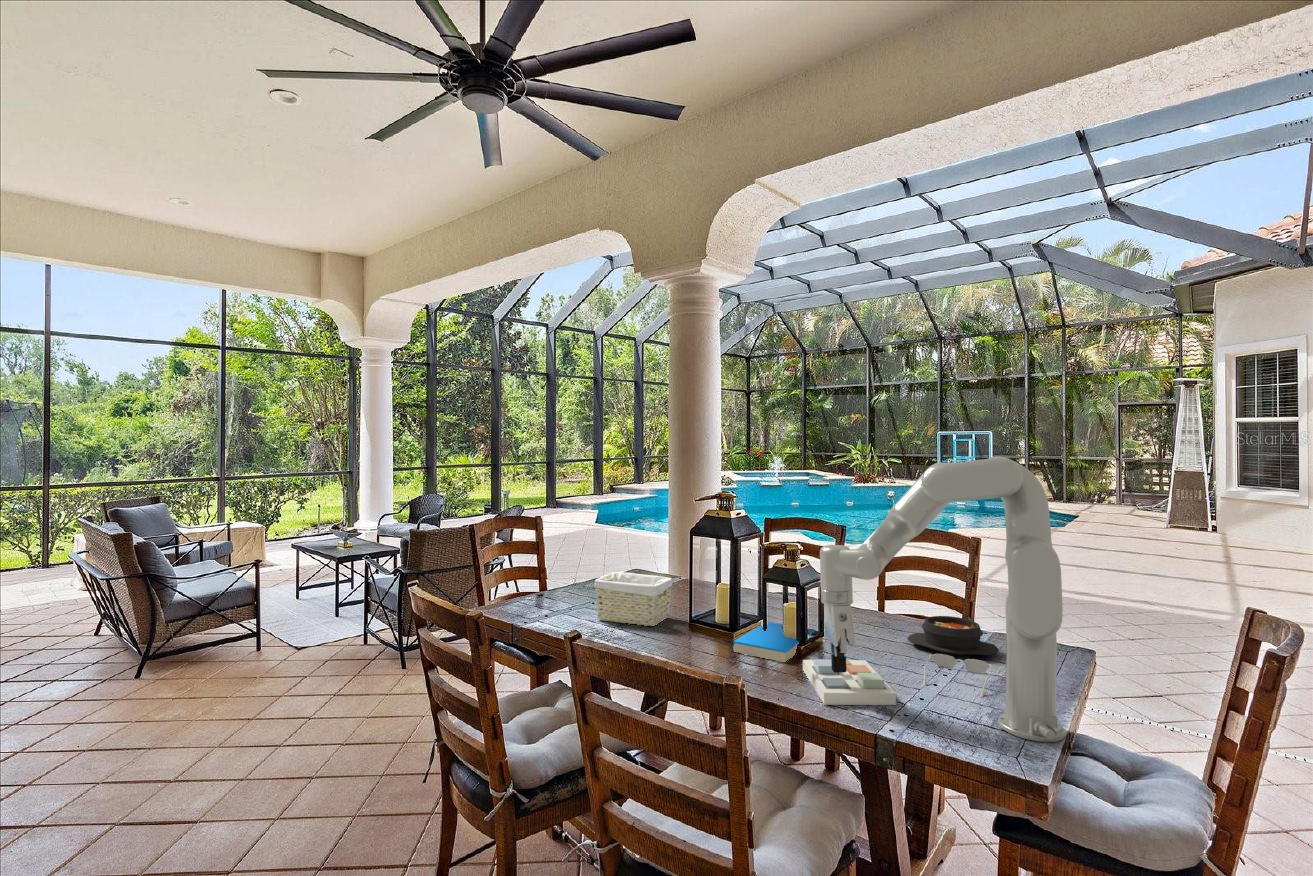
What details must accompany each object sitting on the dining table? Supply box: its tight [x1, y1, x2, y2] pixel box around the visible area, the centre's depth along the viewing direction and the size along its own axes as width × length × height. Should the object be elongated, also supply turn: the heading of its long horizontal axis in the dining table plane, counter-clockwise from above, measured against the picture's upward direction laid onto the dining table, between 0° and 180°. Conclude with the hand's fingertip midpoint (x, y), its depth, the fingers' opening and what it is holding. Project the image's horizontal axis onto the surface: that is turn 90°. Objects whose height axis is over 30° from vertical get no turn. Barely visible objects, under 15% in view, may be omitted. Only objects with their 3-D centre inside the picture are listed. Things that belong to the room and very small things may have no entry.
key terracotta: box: [846, 665, 871, 675], centre depth 167 cm, size 5×5×2 cm
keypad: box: [802, 659, 897, 706], centre depth 164 cm, size 23×17×3 cm
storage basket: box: [594, 571, 673, 627], centre depth 225 cm, size 24×16×15 cm
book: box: [731, 621, 816, 663], centre depth 196 cm, size 17×4×25 cm
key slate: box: [823, 678, 849, 689], centre depth 158 cm, size 5×5×2 cm
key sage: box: [857, 672, 885, 689], centre depth 158 cm, size 5×5×2 cm
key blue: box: [813, 658, 838, 675], centre depth 167 cm, size 5×5×2 cm
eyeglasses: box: [922, 653, 992, 697], centre depth 169 cm, size 15×18×4 cm
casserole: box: [907, 615, 1000, 656], centre depth 194 cm, size 25×19×8 cm
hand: (839, 671), depth 157 cm, fingers closed
